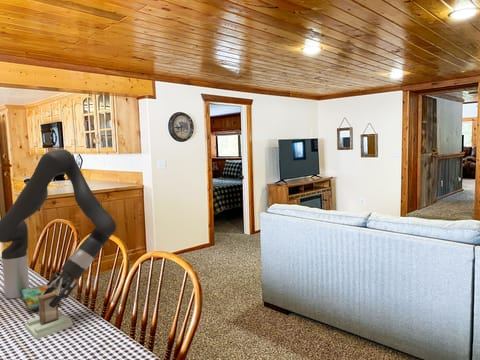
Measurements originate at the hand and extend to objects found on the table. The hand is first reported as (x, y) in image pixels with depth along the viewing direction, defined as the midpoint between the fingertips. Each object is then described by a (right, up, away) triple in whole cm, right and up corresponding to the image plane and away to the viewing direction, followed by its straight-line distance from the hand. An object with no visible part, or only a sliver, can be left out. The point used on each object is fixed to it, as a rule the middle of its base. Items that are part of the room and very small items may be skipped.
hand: (46, 303), depth 127 cm
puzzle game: (-14, -8, +22) cm, 28 cm away
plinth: (0, -9, +1) cm, 9 cm away
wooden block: (0, -7, +1) cm, 7 cm away
